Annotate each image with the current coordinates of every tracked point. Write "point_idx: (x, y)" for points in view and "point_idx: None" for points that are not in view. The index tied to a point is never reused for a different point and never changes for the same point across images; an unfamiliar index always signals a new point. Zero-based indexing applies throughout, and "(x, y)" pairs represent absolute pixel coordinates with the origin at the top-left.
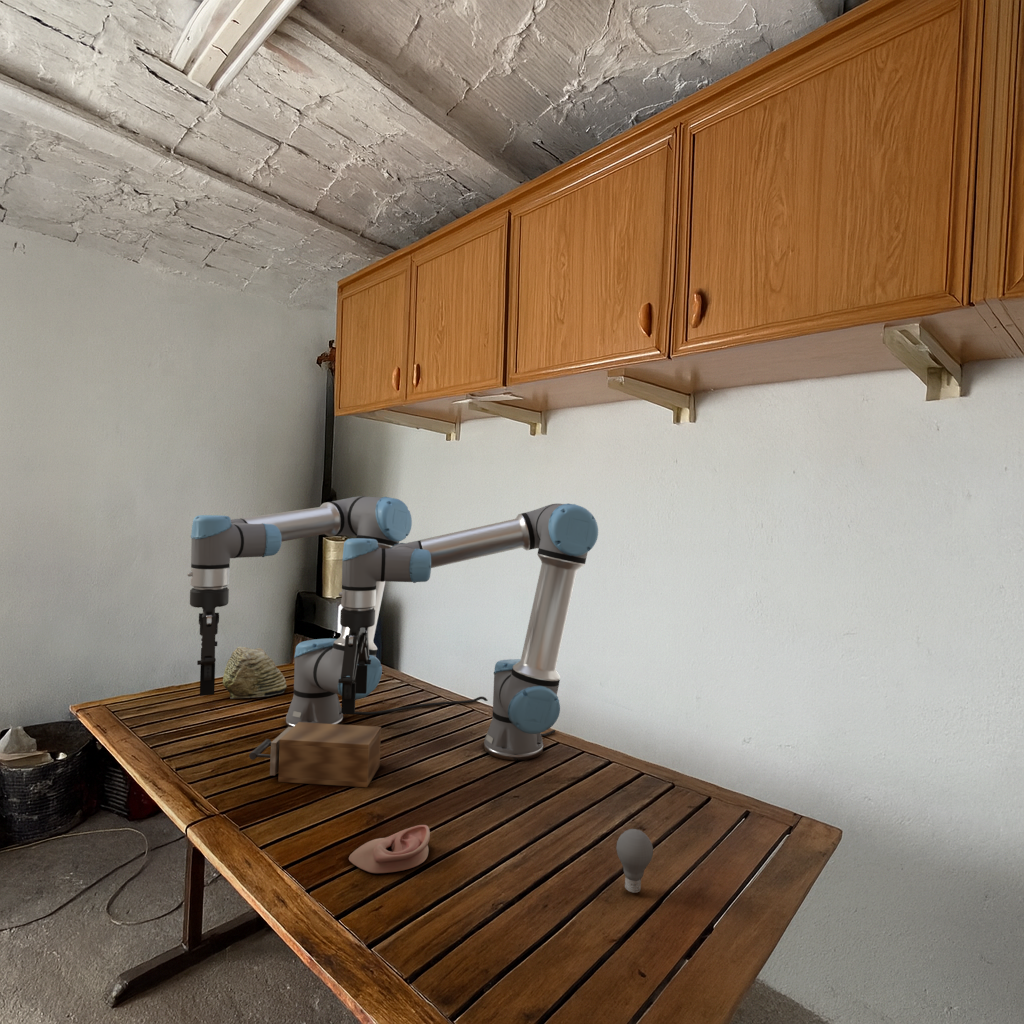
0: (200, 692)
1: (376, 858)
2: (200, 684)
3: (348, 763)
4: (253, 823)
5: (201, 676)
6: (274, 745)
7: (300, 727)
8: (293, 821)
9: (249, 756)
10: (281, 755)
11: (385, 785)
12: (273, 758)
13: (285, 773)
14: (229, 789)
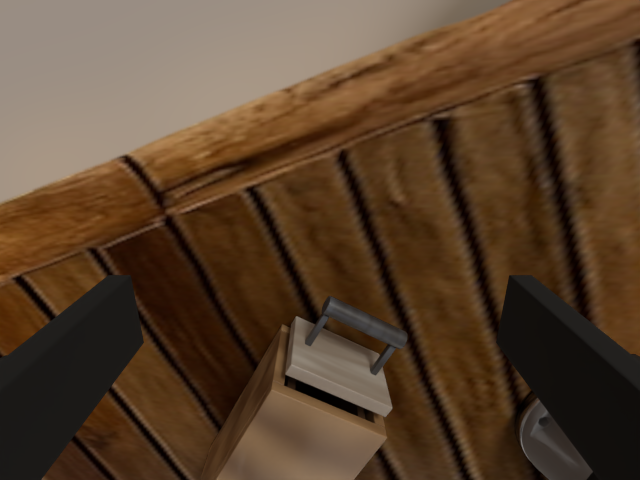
0: (97, 288)
1: None
2: (61, 314)
3: (212, 462)
4: (111, 271)
5: (21, 355)
6: (287, 366)
7: (342, 437)
8: None
9: (329, 297)
10: (273, 365)
11: None
12: (289, 344)
13: (273, 346)
14: (276, 235)
